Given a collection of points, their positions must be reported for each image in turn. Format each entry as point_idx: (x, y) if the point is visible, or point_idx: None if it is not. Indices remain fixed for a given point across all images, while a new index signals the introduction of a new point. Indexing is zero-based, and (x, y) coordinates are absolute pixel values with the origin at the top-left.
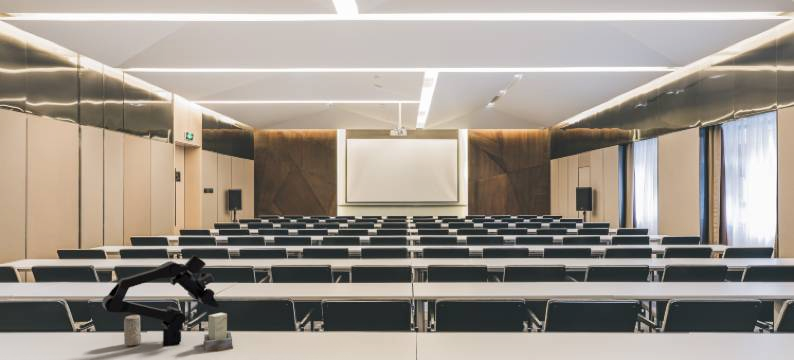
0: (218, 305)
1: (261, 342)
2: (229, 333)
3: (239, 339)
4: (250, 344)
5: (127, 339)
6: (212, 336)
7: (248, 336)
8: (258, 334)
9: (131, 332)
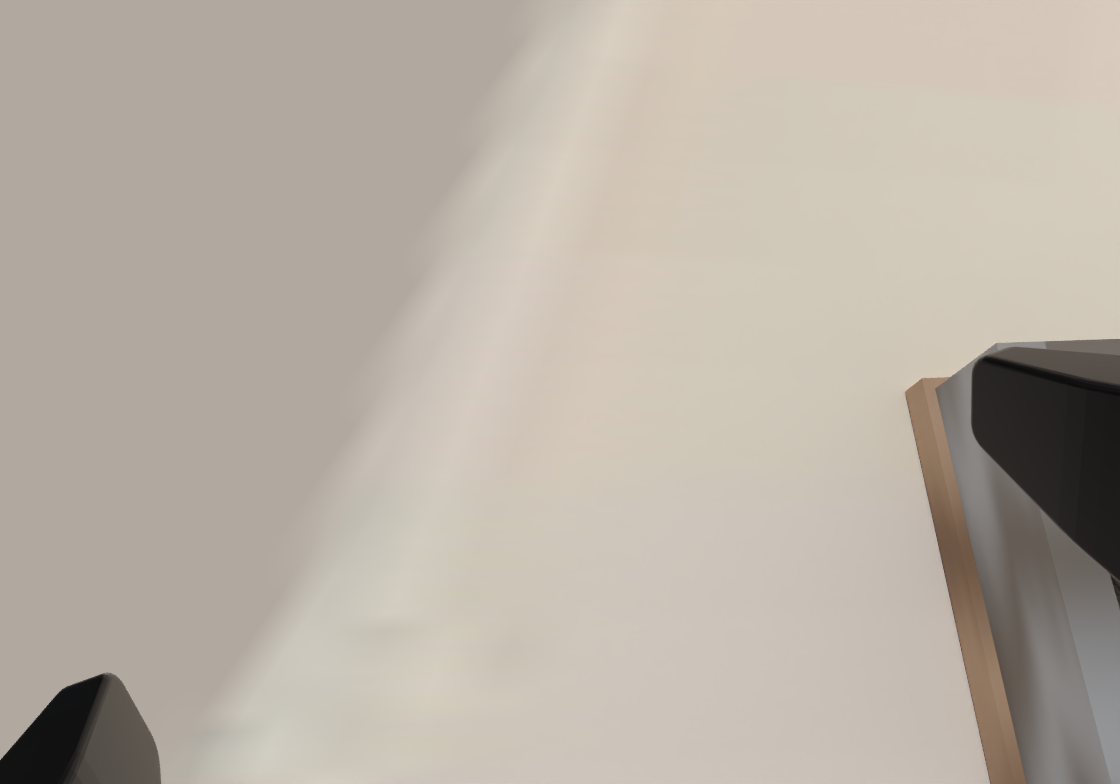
0: (1032, 360)
1: (1035, 46)
2: None
3: (858, 276)
4: (1101, 165)
5: None
6: None
7: (741, 158)
8: (681, 40)
9: None
